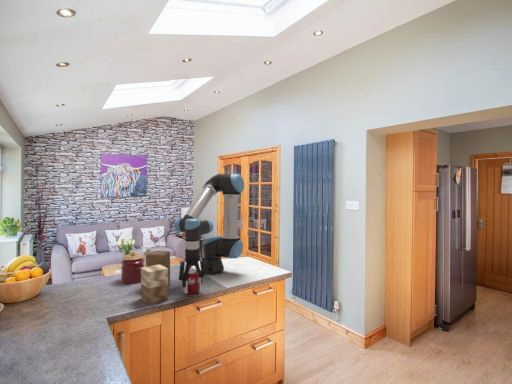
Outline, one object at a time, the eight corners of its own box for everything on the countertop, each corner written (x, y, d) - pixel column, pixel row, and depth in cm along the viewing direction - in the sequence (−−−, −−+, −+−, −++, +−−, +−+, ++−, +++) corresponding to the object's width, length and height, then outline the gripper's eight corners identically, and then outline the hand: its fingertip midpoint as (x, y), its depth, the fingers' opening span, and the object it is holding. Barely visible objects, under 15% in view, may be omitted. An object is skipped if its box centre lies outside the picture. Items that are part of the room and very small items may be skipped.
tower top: (160, 279, 160) (160, 264, 159) (168, 284, 152) (168, 268, 152) (141, 283, 153) (140, 267, 153) (148, 288, 145) (148, 272, 145)
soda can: (194, 290, 165) (194, 268, 165) (202, 294, 160) (202, 271, 159) (182, 293, 160) (182, 271, 159) (190, 297, 155) (190, 274, 154)
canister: (145, 276, 189) (144, 248, 188) (144, 283, 177) (144, 253, 176) (122, 278, 185) (122, 249, 184) (120, 285, 173) (119, 254, 172)
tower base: (160, 294, 160) (160, 279, 160) (168, 299, 152) (168, 284, 152) (141, 298, 153) (141, 283, 153) (148, 304, 146) (148, 288, 145)
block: (162, 291, 163) (161, 254, 163) (145, 290, 165) (145, 253, 165) (170, 285, 173) (170, 250, 173) (155, 283, 175) (154, 249, 175)
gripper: (205, 244, 168) (205, 285, 169) (171, 249, 155) (171, 293, 156) (212, 246, 163) (212, 288, 163) (177, 252, 150) (178, 297, 150)
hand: (192, 291), depth 160 cm, fingers closed on soda can, 7 cm apart
